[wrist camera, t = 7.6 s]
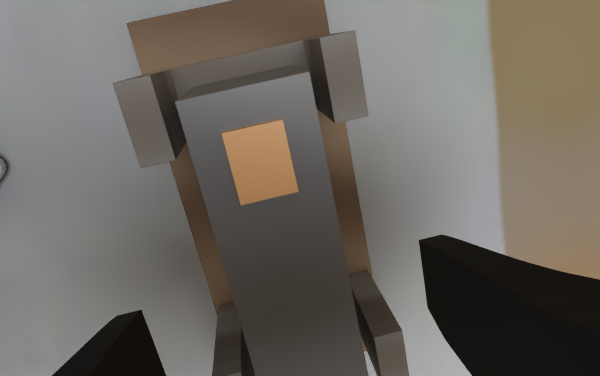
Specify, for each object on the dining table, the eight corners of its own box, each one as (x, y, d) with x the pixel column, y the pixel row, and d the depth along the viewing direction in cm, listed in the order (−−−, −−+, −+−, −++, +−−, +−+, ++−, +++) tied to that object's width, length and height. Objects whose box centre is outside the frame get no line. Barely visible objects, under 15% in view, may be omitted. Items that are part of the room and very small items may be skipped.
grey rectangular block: (348, 343, 20) (380, 432, 15) (270, 363, 19) (278, 460, 15) (291, 65, 16) (311, 72, 11) (193, 86, 16) (172, 103, 11)
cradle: (378, 333, 22) (420, 421, 17) (239, 368, 22) (237, 470, 16) (316, -15, 17) (349, -43, 12) (132, 24, 17) (82, 13, 11)
